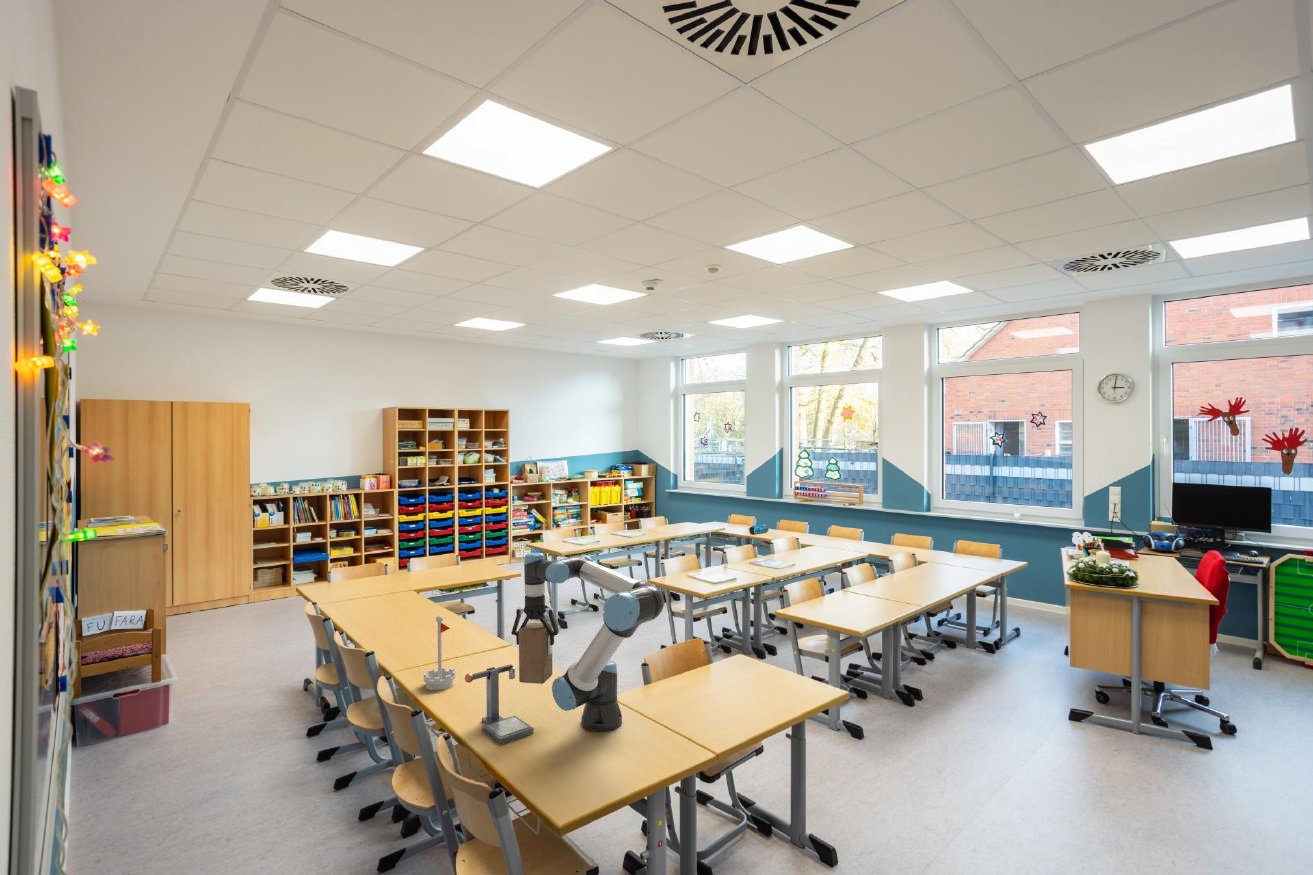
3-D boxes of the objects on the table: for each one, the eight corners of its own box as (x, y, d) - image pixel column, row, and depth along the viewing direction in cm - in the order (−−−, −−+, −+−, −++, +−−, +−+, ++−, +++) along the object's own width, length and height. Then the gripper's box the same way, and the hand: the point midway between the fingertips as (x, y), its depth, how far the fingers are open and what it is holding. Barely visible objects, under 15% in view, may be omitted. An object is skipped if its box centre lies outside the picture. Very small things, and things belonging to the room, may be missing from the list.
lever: (516, 678, 242) (516, 663, 243) (466, 691, 230) (466, 675, 230) (512, 675, 245) (512, 660, 245) (463, 689, 232) (463, 673, 232)
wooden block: (543, 684, 233) (542, 630, 234) (518, 683, 235) (517, 629, 236) (553, 675, 243) (552, 622, 244) (528, 673, 245) (528, 621, 246)
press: (533, 733, 227) (533, 678, 228) (500, 744, 219) (499, 688, 219) (505, 713, 244) (504, 663, 244) (472, 723, 236) (472, 671, 236)
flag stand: (417, 689, 270) (417, 618, 270) (435, 678, 282) (434, 610, 283) (444, 692, 266) (444, 620, 267) (461, 680, 279) (460, 612, 279)
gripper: (566, 592, 242) (567, 650, 242) (508, 591, 244) (508, 649, 244) (562, 596, 235) (563, 656, 235) (501, 596, 237) (502, 656, 236)
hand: (535, 653), depth 239 cm, fingers closed on wooden block, 10 cm apart
